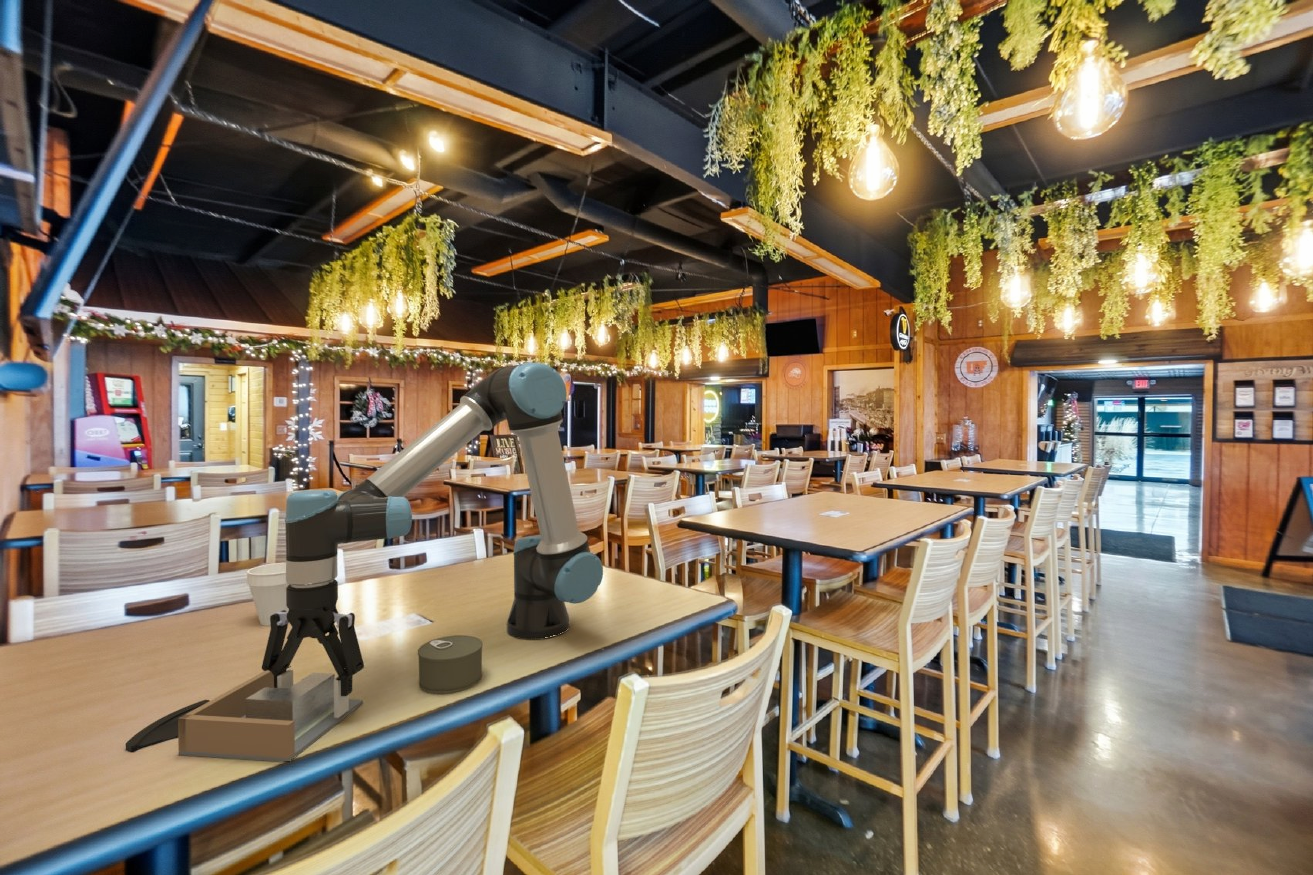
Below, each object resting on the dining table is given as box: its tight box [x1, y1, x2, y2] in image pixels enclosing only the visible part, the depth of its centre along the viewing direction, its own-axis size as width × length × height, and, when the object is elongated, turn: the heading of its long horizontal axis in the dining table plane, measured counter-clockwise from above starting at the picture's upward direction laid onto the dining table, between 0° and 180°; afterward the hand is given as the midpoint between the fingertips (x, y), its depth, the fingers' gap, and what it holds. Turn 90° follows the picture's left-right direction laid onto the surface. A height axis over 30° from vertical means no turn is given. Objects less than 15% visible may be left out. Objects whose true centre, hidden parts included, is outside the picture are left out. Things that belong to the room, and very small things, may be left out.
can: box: [417, 635, 484, 696], centre depth 112 cm, size 12×12×7 cm
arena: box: [177, 670, 364, 762], centre depth 94 cm, size 18×18×6 cm
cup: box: [246, 562, 290, 627], centre depth 145 cm, size 12×12×14 cm
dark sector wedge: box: [125, 699, 211, 753], centre depth 94 cm, size 8×14×2 cm, turn 157°
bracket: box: [246, 672, 336, 737], centre depth 95 cm, size 10×8×6 cm
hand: (313, 712), depth 97 cm, fingers open, 9 cm apart
